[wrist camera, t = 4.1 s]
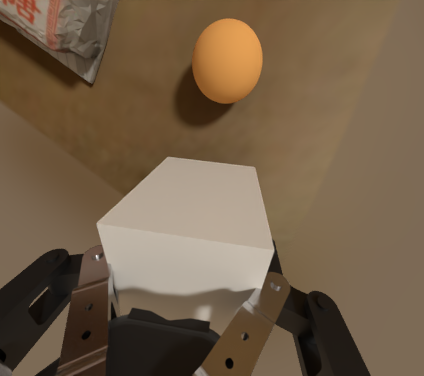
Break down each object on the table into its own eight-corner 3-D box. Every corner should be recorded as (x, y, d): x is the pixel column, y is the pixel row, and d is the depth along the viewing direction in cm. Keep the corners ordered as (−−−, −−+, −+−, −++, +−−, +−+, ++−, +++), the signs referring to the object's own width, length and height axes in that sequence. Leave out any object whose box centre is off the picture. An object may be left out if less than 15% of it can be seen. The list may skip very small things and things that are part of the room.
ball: (205, 107, 17) (193, 111, 13) (193, 41, 15) (174, 18, 10) (261, 96, 16) (268, 96, 12) (256, 23, 14) (264, -10, 9)
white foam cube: (241, 234, 18) (243, 341, 10) (170, 224, 19) (122, 318, 11) (254, 167, 15) (274, 250, 7) (168, 156, 15) (96, 223, 7)
